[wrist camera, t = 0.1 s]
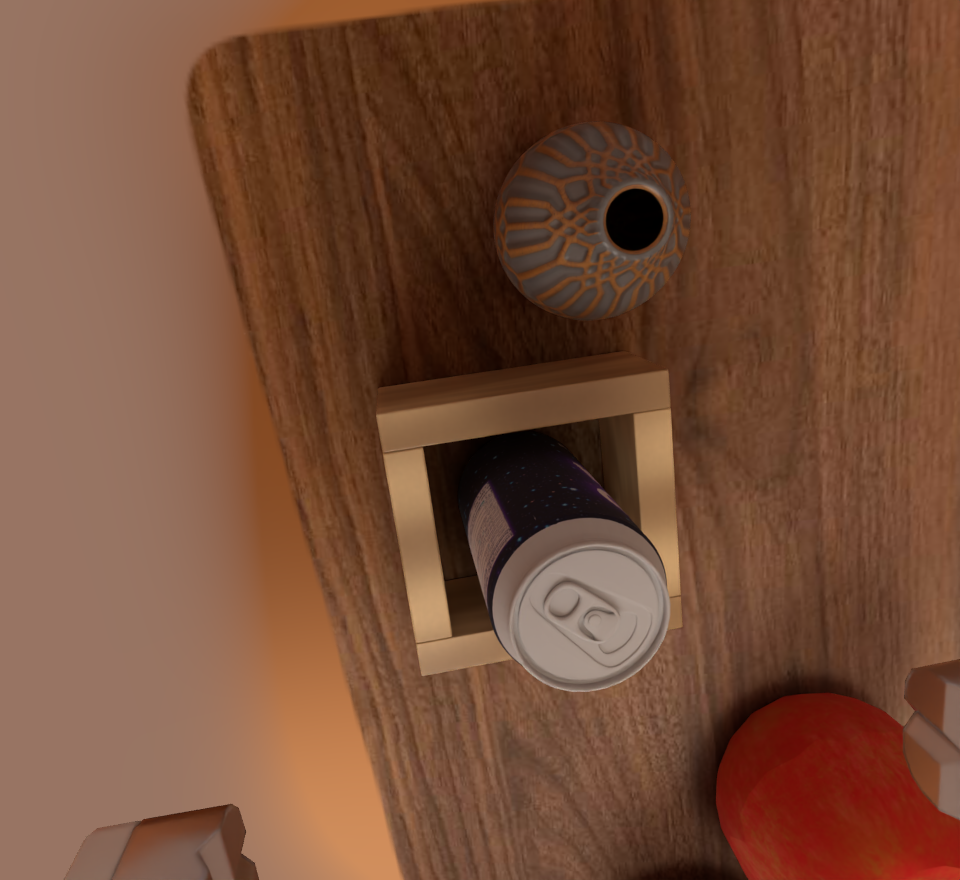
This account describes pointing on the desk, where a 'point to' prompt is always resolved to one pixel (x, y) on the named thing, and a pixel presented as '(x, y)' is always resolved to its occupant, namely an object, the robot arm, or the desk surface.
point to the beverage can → (561, 565)
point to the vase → (592, 220)
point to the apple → (829, 797)
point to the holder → (511, 408)
